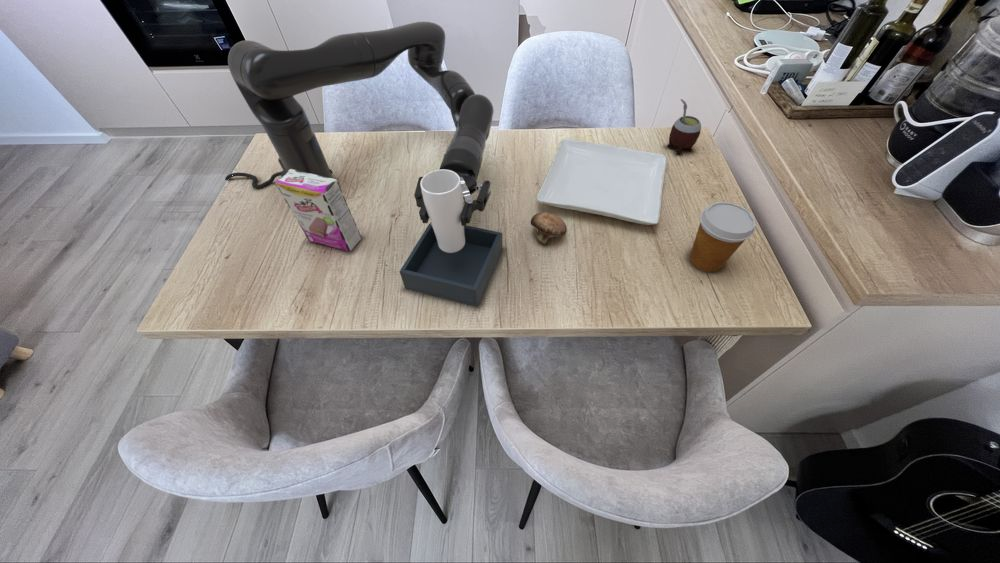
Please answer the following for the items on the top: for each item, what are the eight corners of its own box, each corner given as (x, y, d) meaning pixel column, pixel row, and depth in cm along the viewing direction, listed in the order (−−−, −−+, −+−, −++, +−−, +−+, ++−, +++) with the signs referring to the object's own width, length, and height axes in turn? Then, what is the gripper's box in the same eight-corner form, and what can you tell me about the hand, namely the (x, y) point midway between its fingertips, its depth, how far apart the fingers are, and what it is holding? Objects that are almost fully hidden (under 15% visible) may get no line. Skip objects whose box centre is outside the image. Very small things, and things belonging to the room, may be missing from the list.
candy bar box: (307, 242, 88) (273, 182, 75) (321, 227, 91) (289, 167, 78) (350, 253, 86) (322, 193, 73) (363, 238, 88) (337, 177, 76)
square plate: (654, 236, 86) (659, 223, 83) (534, 211, 92) (534, 198, 89) (664, 165, 102) (668, 152, 99) (560, 148, 108) (562, 135, 105)
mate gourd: (693, 144, 108) (715, 89, 96) (691, 160, 104) (714, 104, 92) (665, 139, 110) (683, 84, 98) (662, 154, 105) (680, 99, 94)
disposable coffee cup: (725, 285, 78) (754, 242, 68) (676, 267, 81) (697, 224, 71) (733, 253, 83) (761, 209, 73) (687, 238, 86) (708, 194, 76)
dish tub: (405, 288, 79) (399, 271, 75) (436, 235, 88) (432, 218, 84) (478, 307, 76) (475, 290, 72) (502, 250, 85) (502, 232, 81)
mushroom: (536, 245, 81) (546, 215, 79) (519, 233, 88) (527, 206, 86) (567, 250, 85) (577, 222, 83) (548, 239, 92) (556, 213, 90)
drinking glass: (460, 261, 74) (449, 198, 62) (428, 251, 76) (411, 188, 64) (475, 237, 78) (467, 173, 66) (444, 228, 79) (431, 165, 68)
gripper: (498, 181, 81) (485, 239, 71) (430, 177, 83) (407, 233, 72) (496, 149, 75) (482, 207, 65) (423, 145, 77) (398, 201, 66)
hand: (443, 220), depth 69 cm, fingers closed on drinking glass, 6 cm apart
